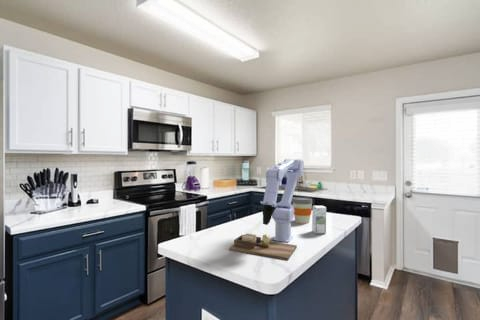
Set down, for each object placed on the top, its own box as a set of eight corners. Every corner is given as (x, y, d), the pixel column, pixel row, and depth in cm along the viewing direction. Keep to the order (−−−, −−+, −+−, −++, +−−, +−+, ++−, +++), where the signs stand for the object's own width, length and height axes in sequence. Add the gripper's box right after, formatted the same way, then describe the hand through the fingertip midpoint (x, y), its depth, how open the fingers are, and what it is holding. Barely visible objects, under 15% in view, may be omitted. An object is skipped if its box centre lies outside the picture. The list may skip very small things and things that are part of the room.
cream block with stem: (246, 241, 121) (246, 231, 121) (270, 245, 116) (270, 234, 116) (241, 245, 117) (242, 234, 117) (267, 249, 112) (267, 237, 112)
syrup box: (322, 231, 144) (322, 205, 144) (326, 234, 138) (326, 207, 138) (312, 231, 144) (312, 205, 144) (315, 234, 138) (315, 207, 138)
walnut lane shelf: (244, 239, 128) (244, 232, 128) (296, 247, 117) (296, 239, 117) (229, 250, 113) (229, 242, 113) (288, 260, 102) (288, 251, 102)
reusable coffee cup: (291, 219, 172) (291, 196, 172) (310, 219, 170) (311, 197, 170) (292, 223, 159) (292, 199, 159) (313, 224, 158) (313, 200, 157)
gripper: (261, 195, 124) (256, 223, 120) (263, 188, 111) (257, 220, 106) (276, 197, 124) (271, 226, 119) (279, 191, 110) (274, 223, 106)
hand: (265, 223), depth 113 cm, fingers open, 7 cm apart
